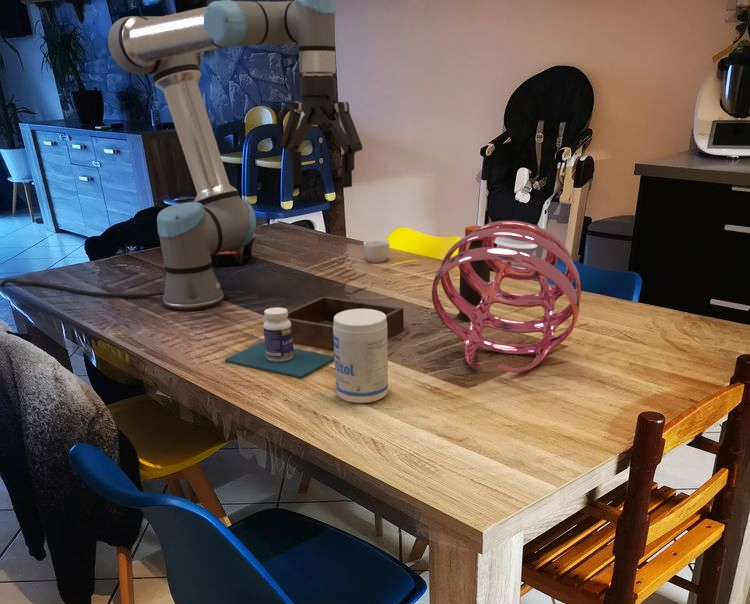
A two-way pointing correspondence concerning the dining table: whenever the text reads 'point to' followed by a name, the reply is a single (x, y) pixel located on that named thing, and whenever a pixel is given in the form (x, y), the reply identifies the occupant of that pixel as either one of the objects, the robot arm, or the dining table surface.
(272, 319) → the pill bottle
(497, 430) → the dining table surface
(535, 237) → the spiral basket
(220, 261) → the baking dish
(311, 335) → the wooden tray
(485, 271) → the vinegar
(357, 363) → the supplement tub
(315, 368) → the mat
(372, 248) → the teacup
